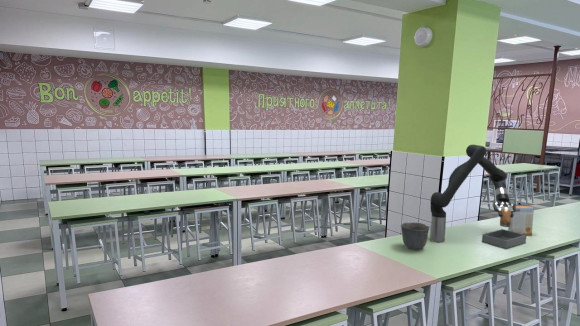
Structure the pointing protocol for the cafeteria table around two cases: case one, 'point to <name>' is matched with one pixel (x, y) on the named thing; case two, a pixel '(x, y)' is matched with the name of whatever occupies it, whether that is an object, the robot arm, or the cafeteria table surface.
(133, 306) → the cafeteria table surface
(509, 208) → the tin can
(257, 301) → the cafeteria table surface
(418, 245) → the dark grey plant pot
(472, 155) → the robot arm
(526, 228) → the cracker box
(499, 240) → the gray tray
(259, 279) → the cafeteria table surface
